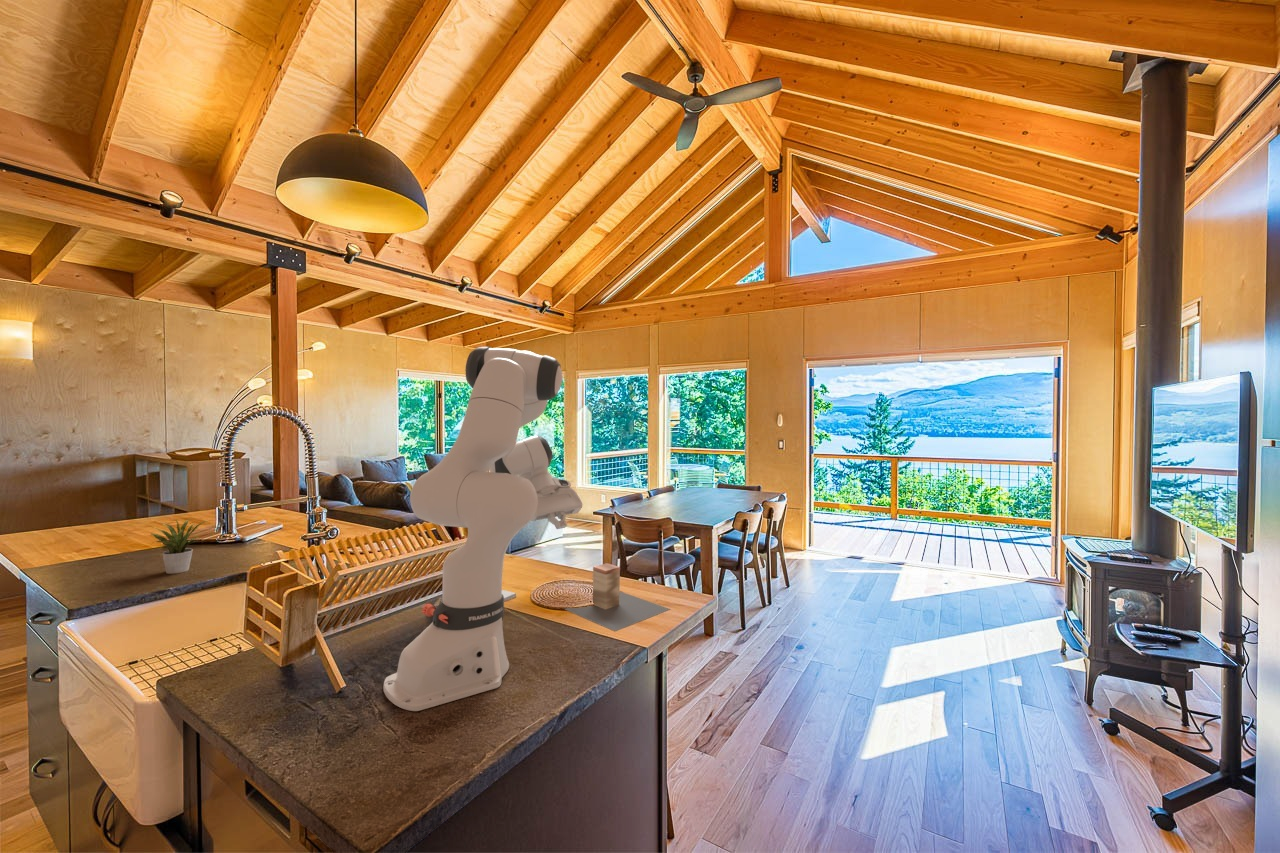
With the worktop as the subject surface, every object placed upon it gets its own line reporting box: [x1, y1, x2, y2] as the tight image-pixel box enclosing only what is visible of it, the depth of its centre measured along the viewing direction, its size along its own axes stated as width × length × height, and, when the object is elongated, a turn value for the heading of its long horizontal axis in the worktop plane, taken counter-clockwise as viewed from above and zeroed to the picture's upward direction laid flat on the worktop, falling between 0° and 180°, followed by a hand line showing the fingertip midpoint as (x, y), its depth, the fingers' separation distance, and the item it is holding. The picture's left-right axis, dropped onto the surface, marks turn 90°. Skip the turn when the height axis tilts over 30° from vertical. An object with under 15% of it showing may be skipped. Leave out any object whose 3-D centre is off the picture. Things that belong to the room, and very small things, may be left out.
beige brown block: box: [592, 562, 621, 609], centre depth 135 cm, size 5×5×10 cm
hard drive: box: [502, 589, 517, 603], centre depth 138 cm, size 2×8×12 cm
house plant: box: [149, 519, 212, 575], centre depth 160 cm, size 14×14×16 cm
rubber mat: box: [564, 590, 671, 632], centre depth 132 cm, size 20×19×1 cm
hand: (562, 527), depth 148 cm, fingers closed
